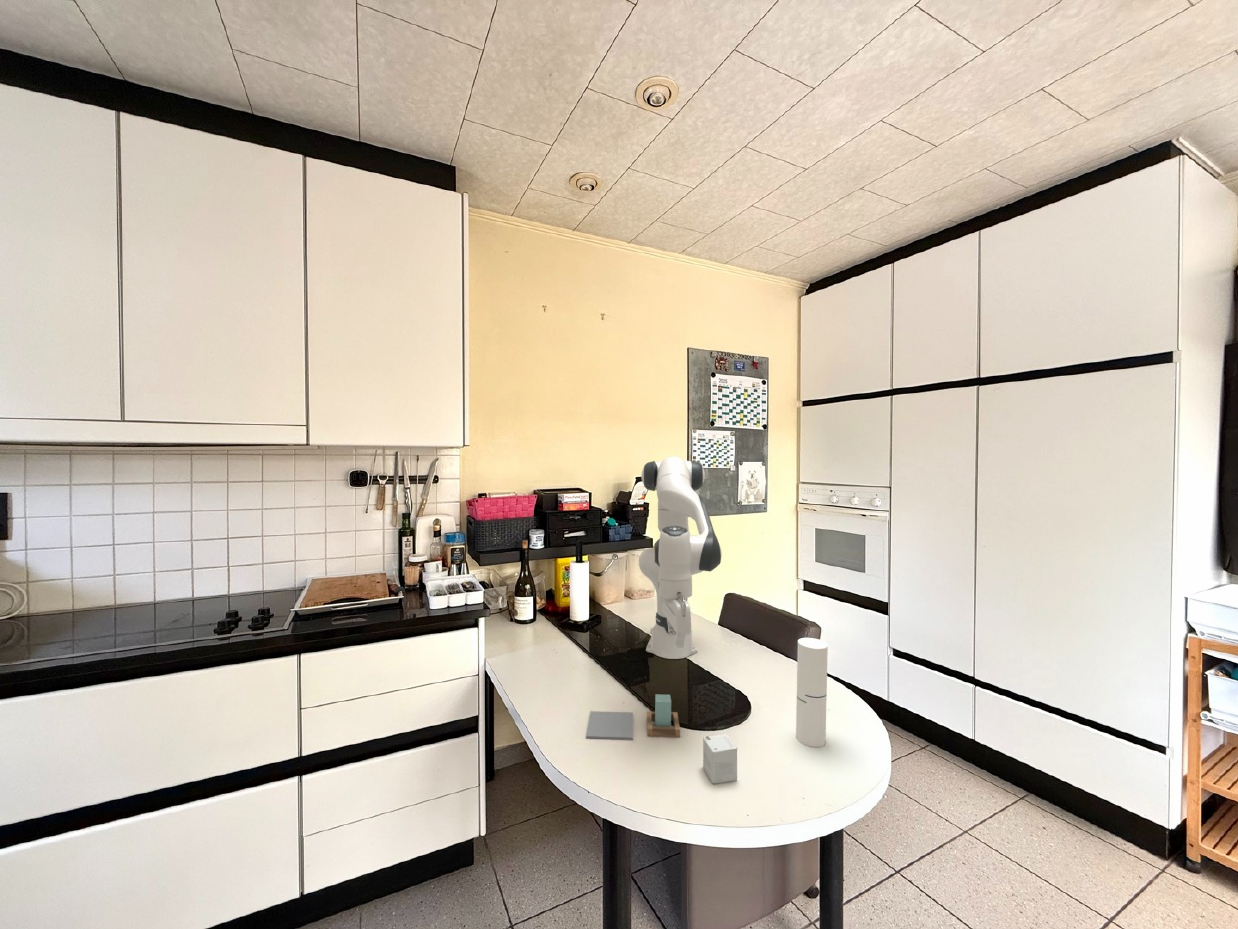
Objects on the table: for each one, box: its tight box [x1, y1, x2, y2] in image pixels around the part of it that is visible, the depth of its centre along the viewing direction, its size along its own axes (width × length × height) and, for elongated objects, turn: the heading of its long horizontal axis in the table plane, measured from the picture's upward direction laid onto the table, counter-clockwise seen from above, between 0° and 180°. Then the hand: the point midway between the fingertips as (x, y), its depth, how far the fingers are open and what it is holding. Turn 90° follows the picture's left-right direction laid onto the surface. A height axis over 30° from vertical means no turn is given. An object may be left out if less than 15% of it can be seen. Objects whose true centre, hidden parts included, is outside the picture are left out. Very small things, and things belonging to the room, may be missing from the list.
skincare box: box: [702, 733, 738, 785], centre depth 111 cm, size 6×6×7 cm
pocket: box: [646, 711, 681, 738], centre depth 130 cm, size 8×8×2 cm
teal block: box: [654, 693, 672, 727], centre depth 130 cm, size 4×4×8 cm
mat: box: [585, 710, 634, 741], centre depth 130 cm, size 12×12×1 cm
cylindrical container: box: [795, 637, 829, 748], centre depth 125 cm, size 7×7×25 cm
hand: (675, 640), depth 129 cm, fingers open, 8 cm apart
